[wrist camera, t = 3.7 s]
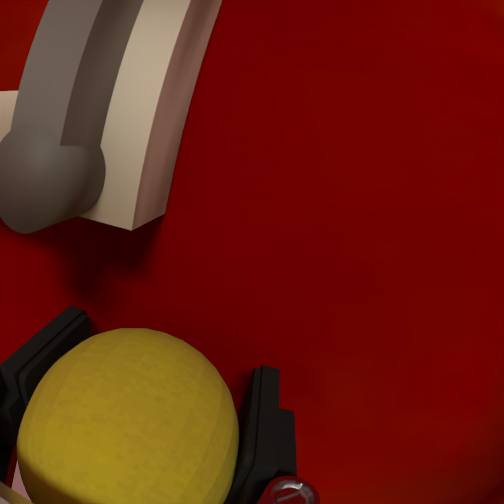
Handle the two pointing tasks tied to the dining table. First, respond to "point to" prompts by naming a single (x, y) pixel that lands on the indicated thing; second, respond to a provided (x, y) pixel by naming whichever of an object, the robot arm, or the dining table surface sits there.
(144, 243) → the dining table surface
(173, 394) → the lemon
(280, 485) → the robot arm
